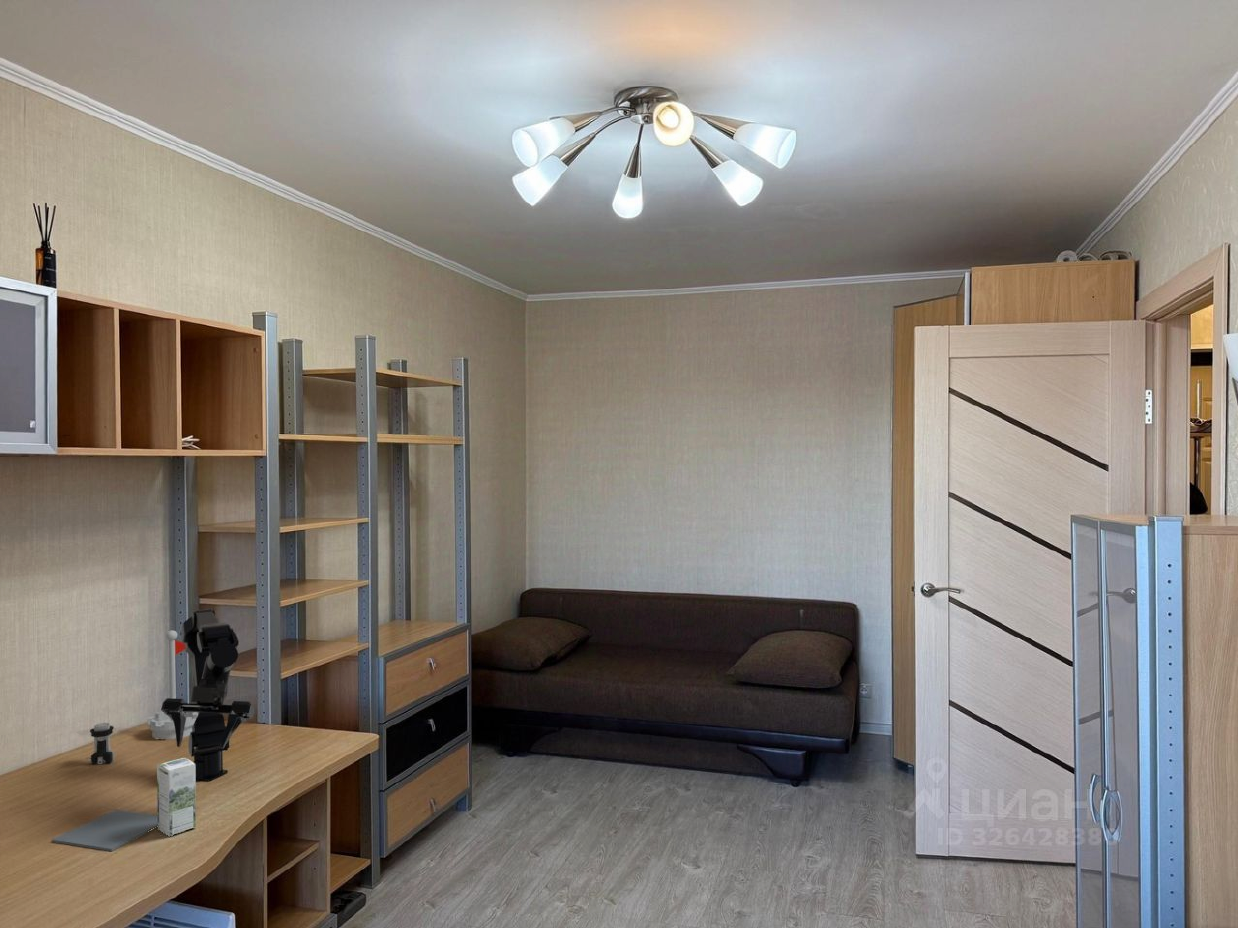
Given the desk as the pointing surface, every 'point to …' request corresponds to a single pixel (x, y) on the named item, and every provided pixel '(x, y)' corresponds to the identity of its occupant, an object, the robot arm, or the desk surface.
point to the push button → (101, 744)
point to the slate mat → (110, 830)
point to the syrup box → (176, 796)
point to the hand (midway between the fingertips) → (200, 747)
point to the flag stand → (163, 723)
